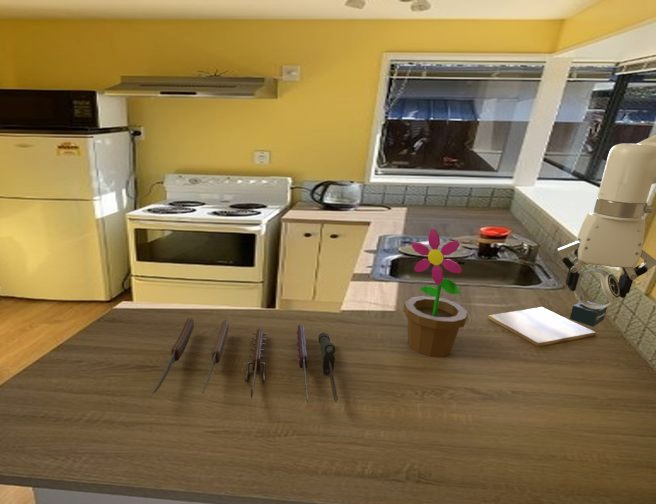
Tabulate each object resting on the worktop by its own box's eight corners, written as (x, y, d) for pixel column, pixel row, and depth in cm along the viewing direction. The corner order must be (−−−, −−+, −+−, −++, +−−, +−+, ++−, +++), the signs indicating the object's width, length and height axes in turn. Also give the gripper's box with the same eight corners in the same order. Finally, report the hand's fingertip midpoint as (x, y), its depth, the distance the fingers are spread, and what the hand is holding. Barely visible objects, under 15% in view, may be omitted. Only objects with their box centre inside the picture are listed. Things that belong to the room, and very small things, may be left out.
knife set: (148, 417, 76) (146, 379, 74) (188, 334, 107) (188, 306, 105) (344, 429, 75) (348, 391, 73) (326, 342, 107) (329, 314, 105)
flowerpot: (388, 343, 105) (402, 225, 95) (418, 326, 114) (434, 217, 104) (442, 369, 95) (465, 240, 85) (471, 347, 104) (494, 229, 94)
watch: (604, 330, 86) (619, 280, 82) (560, 315, 92) (572, 268, 88) (614, 323, 89) (629, 274, 85) (571, 309, 95) (583, 263, 91)
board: (541, 310, 126) (541, 306, 125) (595, 335, 111) (596, 332, 111) (487, 318, 120) (488, 315, 119) (537, 346, 105) (538, 343, 105)
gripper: (665, 209, 83) (639, 292, 89) (561, 202, 89) (543, 279, 94) (684, 217, 76) (654, 306, 82) (571, 208, 82) (550, 291, 88)
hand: (595, 291), depth 88 cm, fingers closed on watch, 8 cm apart
